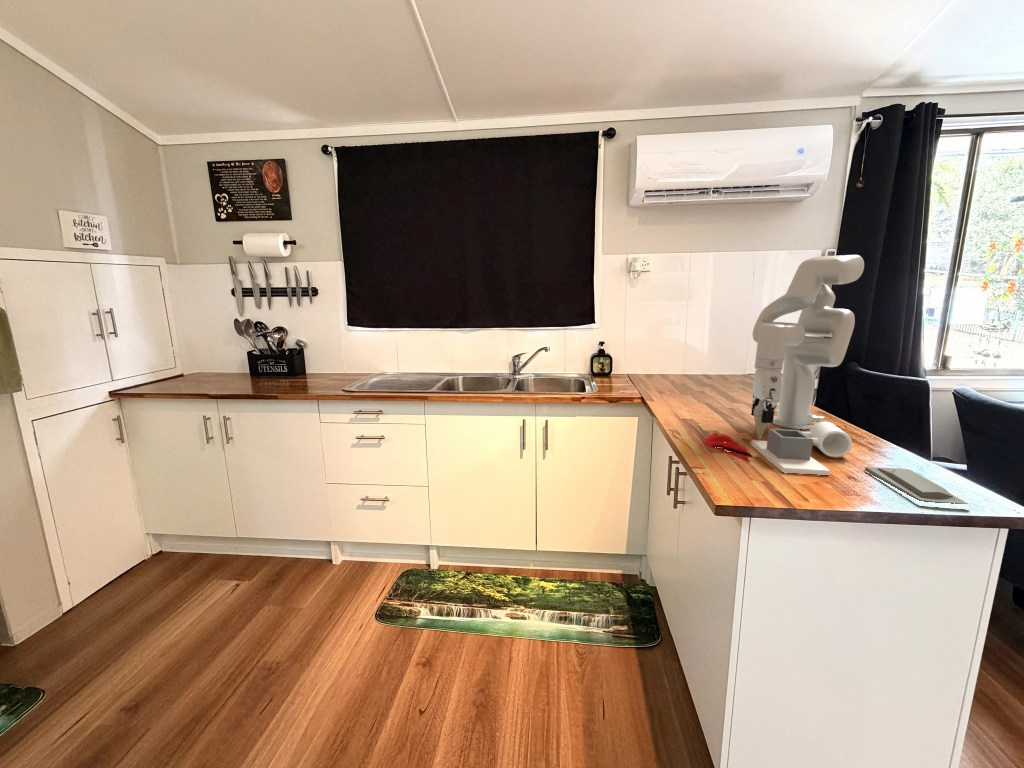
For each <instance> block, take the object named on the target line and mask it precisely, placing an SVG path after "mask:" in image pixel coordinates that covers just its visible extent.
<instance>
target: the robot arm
mask: <svg viewBox="0 0 1024 768" xmlns="http://www.w3.org/2000/svg"><path fill="white" fill-rule="evenodd" d="M864 269H865V261H864V258H863V257H862V256H861V255H859V254H843V255H824V256H823V255H821V256H816V257H815V256H814V257H811V258H808V259H805V260H804V261H802V262H800V264H799V265H798V267H797V270H795V273H794V276H793V277H792V279H791V282H790V284H789V286H788V288H787V290H786V293H785V294H783V295H782V296H780V297H778V298H776V299H775V300H773V301H772V302H771V303H768V305H766V306H765V308H763V310H761V312H760V314H759V316H758V317H757V320H756V322H755V324H754V327H753V331H752V339H753V341H754V343H756V345H757V346H756V351H755V360H754V369H755V371H754V372H755V373H754V376H753V377H754V378H753V382H752V405H751V411H750V412H751V416H753V417H754V415H753V414H754V409H755V407H756V406H757V405H758V404H759V401H760V400H761V401H763V402H764V410H763V411H762V419H761V422H762V423H768V424H773V425H776V426H778V427H782V428H786V429H790V428H791V429H790V430H800V429H802V430H803V431H804V430H806V429H807V430H810V428H811V427H812V426H813V425H814V424H813V423H814V422H817V423H819V422H825V420H826V419H825V416H819V415H818V416H817V414H812V413H811V407H812V400H813V395H814V394H813V393H814V388H815V381H816V378H815V377H816V376H815V373H814V371H813V370H812V367H810V366H817V367H818V366H819V367H827V368H834V367H839V366H840V365H841V364H842V362H843V361H844V358H845V356H846V353H847V350H848V347H849V344H850V341H851V337H852V335H853V331H854V328H855V324H856V322H855V321H856V320H855V319H856V318H855V313H854V312H853V311H851V310H850V309H847V308H846V309H845V308H836V307H835V308H834V304H835V301H836V295H835V292H834V291H833V290H832V289H831V287H829V285H846V284H850V283H853V282H855V281H857V280H859V278H861V276H862V275H863V272H864ZM798 311H800V314H799V317H798V321H797V323H796V322H782V321H775V320H777V319H778V318H780V317H783V316H785V315H789V314H792V313H795V312H798ZM767 403H768V406H767ZM777 405H778V409H777V415H776V416H775V412H776V408H777ZM802 430H801V431H802Z"/></svg>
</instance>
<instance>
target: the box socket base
mask: <svg viewBox="0 0 1024 768" xmlns="http://www.w3.org/2000/svg"><path fill="white" fill-rule="evenodd" d="M803 432H804V431H802V430H800V429H787V428H786V429H782V428H768V434H767V440H758V439H757V440H754V439H752V440H751V442H750V443H751V444H750V445H751V446H752V447H753V448H754V449H755V450H756V449H757V450H756V451H758V452H759V453H760V454H761V455H762V456H763V457H764V456H765V457H766V458H765V457H764V458H765V459H767V460H768V461H769V462H770V463H771V464H772V463H773V464H774V465H773V464H772V465H773V466H774V467H776V468H777V469H778V468H779V469H780V470H781V471H782V472H787V473H801V474H800V475H803V474H817V475H816V476H820V475H829V476H830V475H831V470H830V469H829V468H827V467H826V466H825V465H823V464H821V463H820V461H819V462H818V461H817V460H816V459H815V458H813V457H812V456H811V455H812V450H813V445H814V444H813V439H812V438H811V437H809V436H807V435H806V434H804V433H803ZM779 469H778V470H779ZM780 470H779V471H780ZM781 471H780V472H781ZM782 472H781V473H782ZM787 473H786V474H787Z"/></svg>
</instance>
